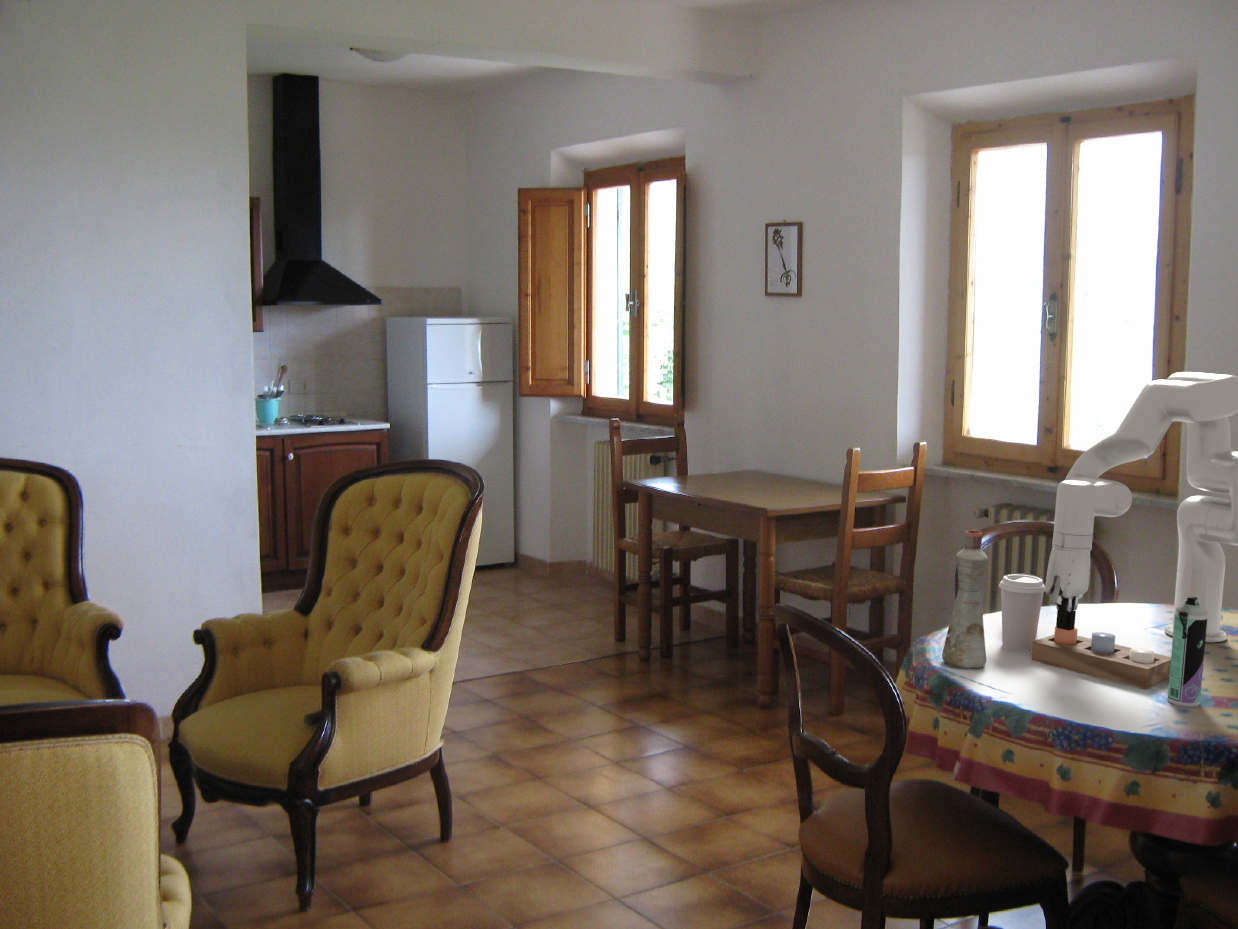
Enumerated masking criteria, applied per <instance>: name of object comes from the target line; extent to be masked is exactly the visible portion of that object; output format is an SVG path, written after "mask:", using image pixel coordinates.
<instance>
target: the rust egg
mask: <svg viewBox="0 0 1238 929" xmlns="http://www.w3.org/2000/svg"><path fill="white" fill-rule="evenodd" d="M1078 630H1079V629H1078V628H1077V627H1074V629H1072V630H1065V629H1060V628H1057V627H1056V625H1055V626H1054V634H1053V635H1054V642H1057V643H1061V644H1065V645H1069V646H1072V645H1075V644H1077V636H1078Z"/></svg>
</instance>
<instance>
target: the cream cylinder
mask: <svg viewBox="0 0 1238 929" xmlns="http://www.w3.org/2000/svg"><path fill="white" fill-rule="evenodd" d="M1131 648H1132V649H1130V656H1129V660H1132V661H1137V662H1141V663H1145V664H1151V663H1153V662H1154V653H1155V651H1153V650H1151V649H1147V648H1142V647H1131Z"/></svg>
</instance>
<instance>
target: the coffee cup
mask: <svg viewBox="0 0 1238 929" xmlns="http://www.w3.org/2000/svg"><path fill="white" fill-rule="evenodd" d="M1019 574H1020V573H1014V574H1012V573H1011V574H1006V575H1003V578H1002V580H1001V581H1000V582H999V584H998V587H999V589H1000V593H1001V594H1000V596H1001V598H1000V599H1001V600H1000V601H1001V602H1000V603H1001V634H1002V636H1001V638H1002V641H1001V642H1002V647H1003V648H1005V649H1007V650H1011V651H1017V652H1019V651H1020V652H1029V651H1030V652H1032V642H1033V641H1035V640H1037V633H1038V626H1039V621H1040V616H1041V607H1042V602H1043V597H1044V593H1046V592H1045V585H1046V584H1044V581H1043V579H1042V578H1040V577H1038V576H1036V575H1034V576H1029V575H1019ZM1035 576H1036V577H1035Z"/></svg>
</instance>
